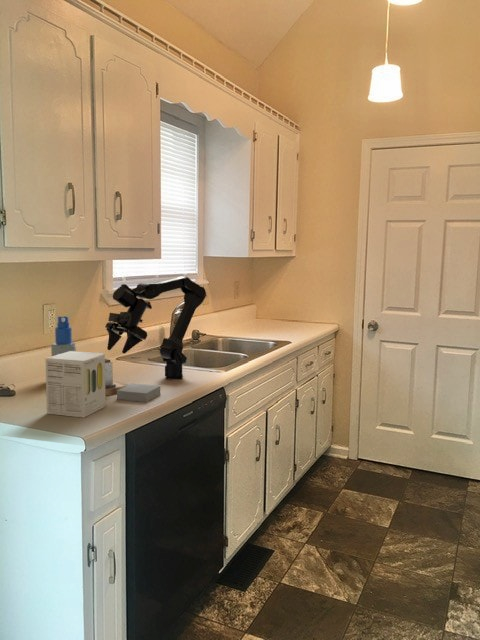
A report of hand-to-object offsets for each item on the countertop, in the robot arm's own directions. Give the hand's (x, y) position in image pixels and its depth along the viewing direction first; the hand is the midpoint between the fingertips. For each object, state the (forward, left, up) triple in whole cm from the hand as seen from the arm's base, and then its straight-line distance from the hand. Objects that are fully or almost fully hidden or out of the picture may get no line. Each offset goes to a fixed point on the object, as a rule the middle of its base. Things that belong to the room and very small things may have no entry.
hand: (115, 351), depth 193 cm
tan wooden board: (+2, +3, -14) cm, 14 cm away
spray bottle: (+22, -14, -14) cm, 30 cm away
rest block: (-9, +10, -14) cm, 20 cm away
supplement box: (+8, +26, -14) cm, 31 cm away
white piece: (+3, +4, -11) cm, 12 cm away
